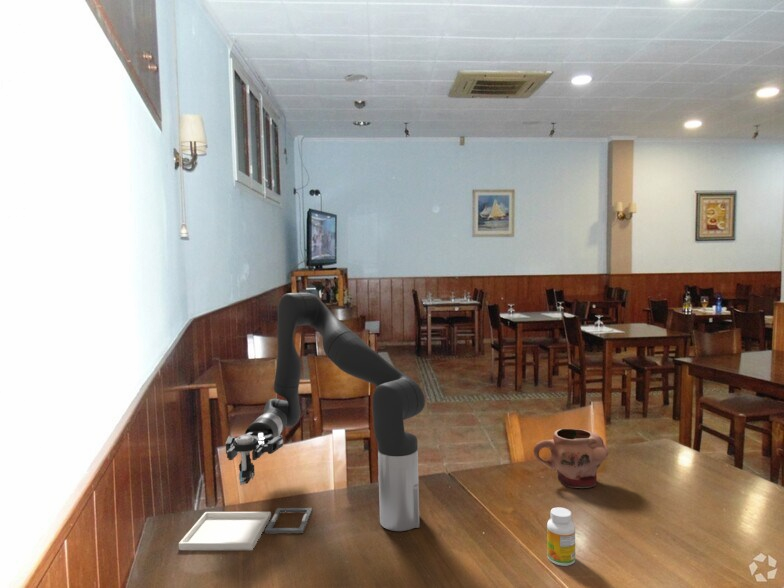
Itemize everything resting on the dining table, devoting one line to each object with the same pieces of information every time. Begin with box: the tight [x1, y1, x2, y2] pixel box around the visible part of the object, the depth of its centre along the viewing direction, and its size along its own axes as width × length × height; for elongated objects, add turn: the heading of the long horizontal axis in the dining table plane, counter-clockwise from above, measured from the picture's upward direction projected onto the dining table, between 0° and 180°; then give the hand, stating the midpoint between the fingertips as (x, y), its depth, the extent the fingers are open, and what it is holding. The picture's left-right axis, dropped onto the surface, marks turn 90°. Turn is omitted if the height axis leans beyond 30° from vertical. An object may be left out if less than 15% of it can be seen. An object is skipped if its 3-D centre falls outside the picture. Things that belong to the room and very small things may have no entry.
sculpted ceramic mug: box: [533, 428, 610, 489], centre depth 137 cm, size 20×12×14 cm, turn 95°
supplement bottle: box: [546, 506, 576, 567], centre depth 102 cm, size 5×5×10 cm
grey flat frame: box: [264, 507, 313, 535], centre depth 120 cm, size 9×11×1 cm
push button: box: [233, 434, 257, 486], centre depth 116 cm, size 7×5×10 cm
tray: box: [178, 511, 272, 551], centre depth 115 cm, size 16×14×2 cm
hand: (241, 455), depth 114 cm, fingers closed on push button, 5 cm apart
